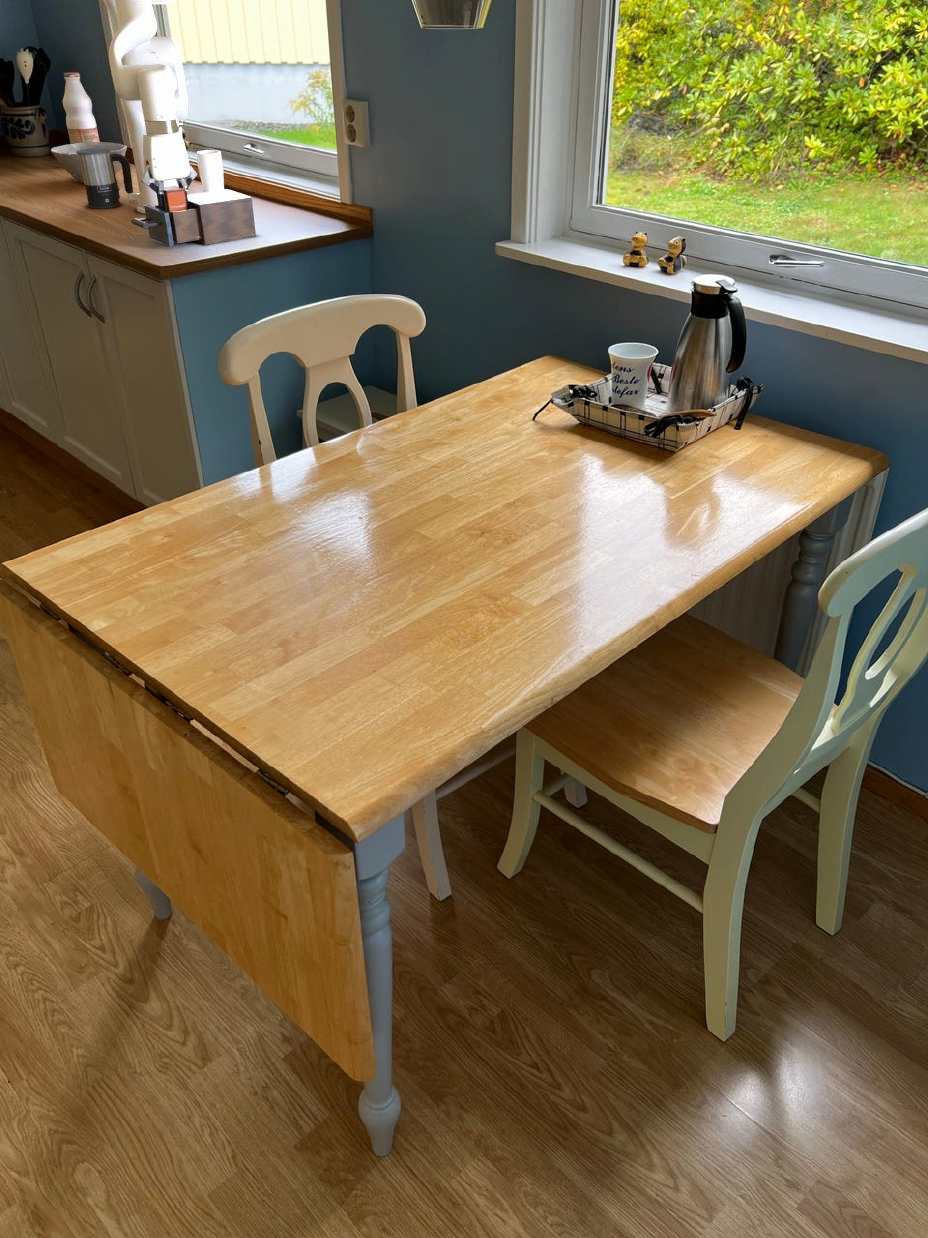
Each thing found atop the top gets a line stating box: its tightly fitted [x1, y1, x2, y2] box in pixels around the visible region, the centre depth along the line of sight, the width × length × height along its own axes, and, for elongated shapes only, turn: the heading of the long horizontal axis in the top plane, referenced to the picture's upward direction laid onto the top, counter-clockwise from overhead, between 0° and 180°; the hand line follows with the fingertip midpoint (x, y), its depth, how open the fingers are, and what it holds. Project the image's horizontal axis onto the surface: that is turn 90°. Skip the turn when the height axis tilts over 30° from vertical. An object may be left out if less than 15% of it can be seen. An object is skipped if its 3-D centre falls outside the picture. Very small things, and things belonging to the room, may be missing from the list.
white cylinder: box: [196, 149, 225, 193], centre depth 274 cm, size 7×7×15 cm
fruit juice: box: [62, 71, 100, 144], centre depth 324 cm, size 9×9×28 cm
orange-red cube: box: [163, 186, 187, 212], centre depth 240 cm, size 5×5×5 cm
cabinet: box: [187, 189, 257, 246], centre depth 250 cm, size 15×13×10 cm
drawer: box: [130, 204, 203, 248], centre depth 243 cm, size 18×11×8 cm, turn 130°
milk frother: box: [76, 148, 134, 210], centre depth 280 cm, size 14×16×15 cm
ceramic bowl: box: [50, 141, 128, 183], centre depth 307 cm, size 22×23×10 cm
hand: (174, 207), depth 242 cm, fingers closed on orange-red cube, 4 cm apart
